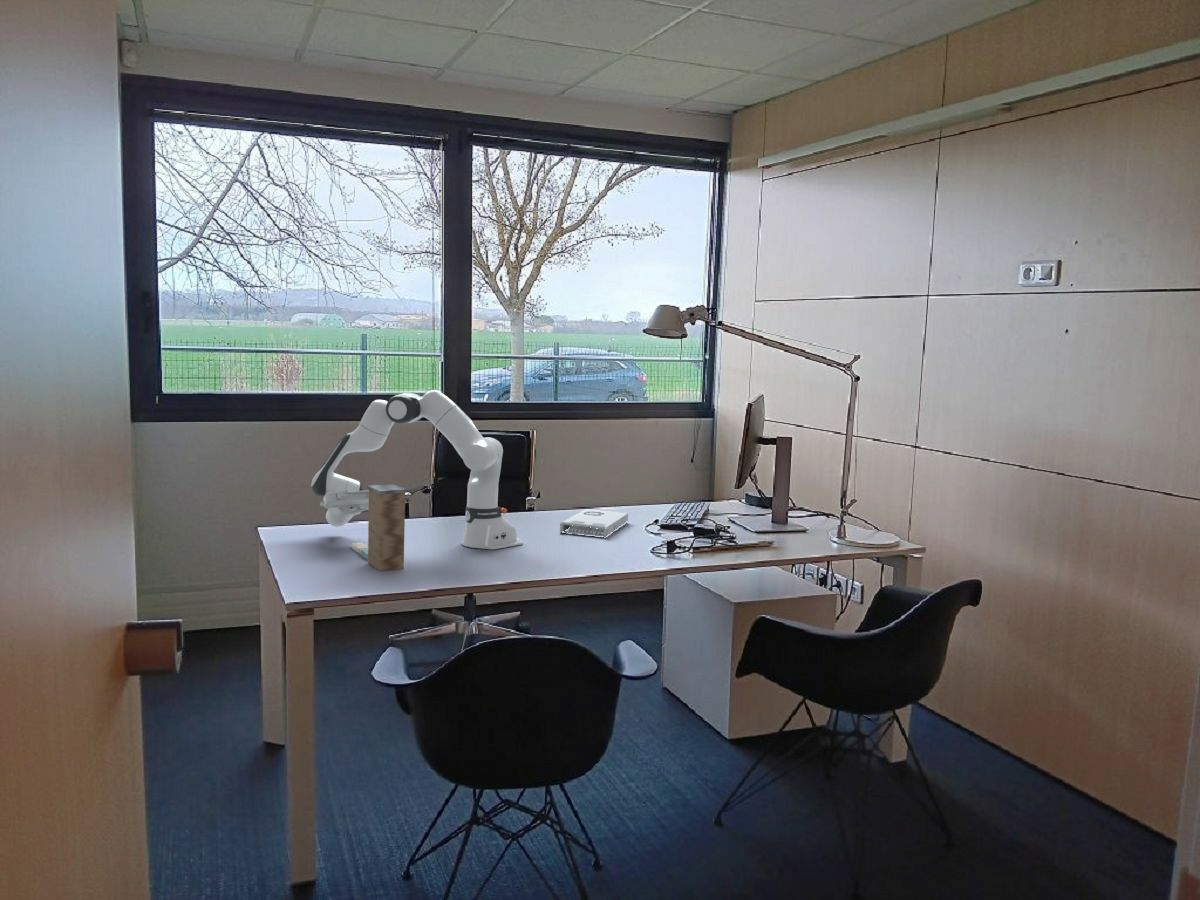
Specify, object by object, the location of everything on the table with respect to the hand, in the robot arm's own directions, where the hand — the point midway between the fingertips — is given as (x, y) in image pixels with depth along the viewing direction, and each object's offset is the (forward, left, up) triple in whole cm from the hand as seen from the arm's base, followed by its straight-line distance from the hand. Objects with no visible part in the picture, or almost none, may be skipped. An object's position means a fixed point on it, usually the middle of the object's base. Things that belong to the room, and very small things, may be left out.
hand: (359, 490), depth 307 cm
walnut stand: (0, +26, -21) cm, 33 cm away
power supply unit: (-97, +5, -21) cm, 99 cm away
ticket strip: (0, +7, -21) cm, 22 cm away
